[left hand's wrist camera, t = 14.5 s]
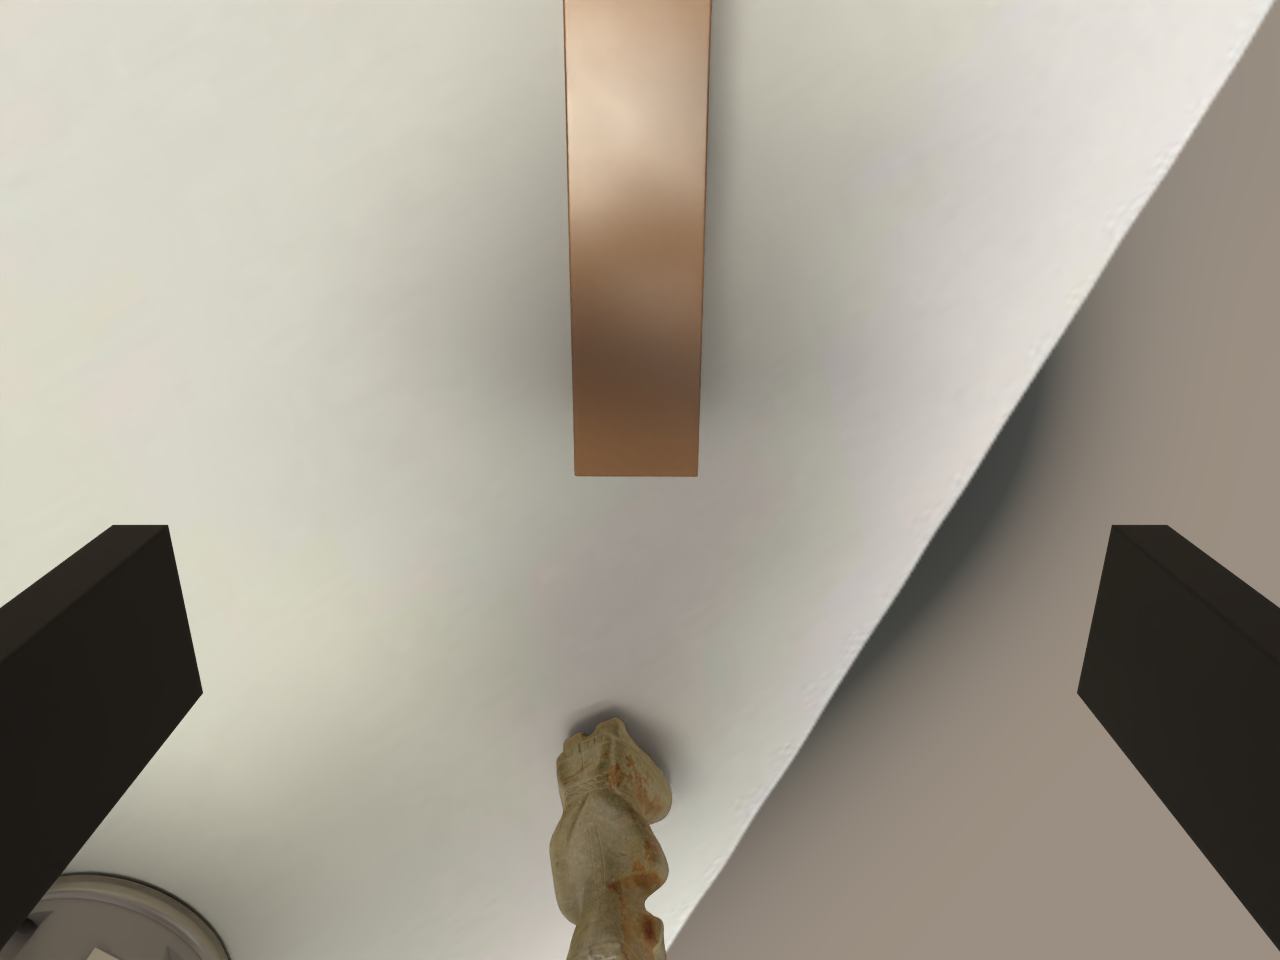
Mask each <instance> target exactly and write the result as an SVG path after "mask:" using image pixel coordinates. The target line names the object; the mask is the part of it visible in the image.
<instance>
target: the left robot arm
mask: <svg viewBox="0 0 1280 960" xmlns="http://www.w3.org/2000/svg"><path fill="white" fill-rule="evenodd" d="M1077 693H1078V695H1079V696H1080V697H1081V699H1082V700H1083V701H1084V702H1085V704H1086V705H1087V706H1088V708H1089V709H1090V710H1091V711H1092V713H1093V714H1094V715H1095V717H1096V718H1097V719H1098V720H1099V722H1100V723H1101V724H1102V725H1103V727H1104V728H1105V729H1106V730H1107V732H1108V733H1109V734H1110V736H1111V737H1112V738H1113V739H1114V741H1115V742H1116V743H1117V744H1118V746H1119V747H1120V748H1121V750H1122V751H1123V752H1124V753H1125V755H1126V756H1127V757H1128V759H1129V760H1130V761H1131V762H1132V764H1133V765H1134V766H1135V767H1136V769H1137V770H1138V771H1139V773H1140V774H1141V775H1142V776H1143V778H1144V779H1145V780H1146V781H1147V783H1148V784H1149V785H1150V787H1151V788H1152V789H1153V790H1154V792H1155V793H1156V794H1157V795H1158V797H1159V798H1160V799H1161V801H1162V802H1163V803H1164V804H1165V806H1166V807H1167V808H1168V810H1169V811H1170V812H1171V813H1172V815H1173V816H1174V817H1175V818H1176V820H1177V821H1178V822H1179V824H1180V825H1181V826H1182V827H1183V829H1184V830H1185V831H1186V832H1187V834H1188V835H1189V836H1190V838H1191V839H1192V840H1193V841H1194V843H1195V844H1196V845H1197V846H1198V848H1199V849H1200V850H1201V852H1202V853H1203V854H1204V855H1205V857H1206V858H1207V859H1208V860H1209V862H1210V863H1211V864H1212V866H1213V867H1214V868H1215V869H1216V871H1217V872H1218V873H1219V874H1220V876H1221V877H1222V878H1223V880H1224V881H1225V882H1226V883H1227V885H1228V886H1229V887H1230V889H1231V890H1232V891H1233V892H1234V894H1235V895H1236V896H1237V897H1238V899H1239V900H1240V901H1241V903H1242V904H1243V905H1244V906H1245V908H1246V909H1247V910H1248V911H1249V913H1250V914H1251V915H1252V917H1253V918H1254V919H1255V920H1256V922H1257V923H1258V924H1259V925H1260V927H1261V928H1262V929H1263V931H1264V932H1265V933H1266V934H1267V936H1268V937H1269V938H1270V939H1271V941H1272V942H1273V943H1274V945H1275V946H1276V947H1277V948H1278V950H1279V951H1280V608H1279V607H1277V606H1276V605H1275V604H1273V603H1272V602H1271V601H1269V600H1268V599H1267V598H1265V597H1264V596H1263V595H1261V594H1260V593H1258V592H1257V591H1256V590H1255V589H1253V588H1252V587H1250V586H1249V585H1248V584H1246V583H1245V582H1244V581H1242V580H1241V579H1240V578H1238V577H1237V576H1235V575H1234V574H1233V573H1231V572H1230V571H1229V570H1227V569H1226V568H1225V567H1223V566H1222V565H1221V564H1219V563H1218V562H1216V561H1215V560H1214V559H1212V558H1211V557H1210V556H1208V555H1207V554H1206V553H1204V552H1203V551H1202V550H1200V549H1199V548H1197V547H1196V546H1195V545H1194V544H1192V543H1191V542H1189V541H1188V540H1187V539H1185V538H1184V537H1183V536H1181V535H1180V534H1179V533H1177V532H1176V531H1175V530H1173V529H1172V528H1170V527H1169V526H1168V525H1112V528H1111V532H1110V537H1109V542H1108V547H1107V552H1106V556H1105V561H1104V566H1103V571H1102V576H1101V580H1100V585H1099V590H1098V595H1097V600H1096V604H1095V609H1094V614H1093V619H1092V624H1091V628H1090V633H1089V638H1088V643H1087V648H1086V652H1085V657H1084V662H1083V667H1082V672H1081V676H1080V681H1079V686H1078V691H1077ZM202 694H203V691H202V686H201V681H200V676H199V672H198V667H197V662H196V657H195V652H194V648H193V643H192V638H191V633H190V628H189V624H188V619H187V614H186V609H185V604H184V600H183V595H182V590H181V585H180V580H179V576H178V571H177V566H176V561H175V556H174V552H173V547H172V542H171V537H170V532H169V528H168V525H112V526H111V527H110V528H108V529H107V530H105V531H104V532H103V533H101V534H100V535H99V536H97V537H96V538H95V539H93V540H92V541H91V542H89V543H88V544H86V545H85V546H84V547H82V548H81V549H80V550H78V551H77V552H76V553H74V554H73V555H72V556H70V557H69V558H67V559H66V560H65V561H63V562H62V563H61V564H59V565H58V566H57V567H55V568H54V569H53V570H51V571H50V572H49V573H47V574H46V575H44V576H43V577H42V578H40V579H39V580H38V581H36V582H35V583H34V584H32V585H31V586H30V587H28V588H27V589H25V590H24V591H23V592H21V593H20V594H19V595H17V596H16V597H15V598H13V599H12V600H11V601H9V602H8V603H7V604H5V605H4V606H2V607H1V608H0V960H228V958H227V955H226V953H225V951H224V949H223V947H222V945H221V943H220V941H219V940H218V938H217V937H216V935H215V934H214V933H213V932H212V930H211V929H210V928H209V927H208V926H207V925H206V924H205V923H204V922H203V921H202V920H201V919H200V918H199V917H198V916H197V915H196V914H195V913H193V912H192V911H191V910H190V909H188V908H187V907H185V906H184V905H183V904H181V903H179V902H178V901H176V900H175V899H173V898H171V897H169V896H167V895H166V894H164V893H162V892H160V891H157V890H155V889H153V888H150V887H148V886H145V885H142V884H139V883H136V882H132V881H129V880H125V879H120V878H115V877H109V876H101V875H69V876H61V877H59V876H60V874H61V873H62V872H63V871H64V869H65V868H66V867H67V866H68V864H69V863H70V862H71V860H72V859H73V858H74V857H75V855H76V854H77V853H78V852H79V850H80V849H81V848H82V846H83V845H84V844H85V843H86V841H87V840H88V839H89V838H90V836H91V835H92V834H93V832H94V831H95V830H96V829H97V827H98V826H99V825H100V824H101V822H102V821H103V820H104V818H105V817H106V816H107V815H108V813H109V812H110V811H111V810H112V808H113V807H114V806H115V804H116V803H117V802H118V801H119V799H120V798H121V797H122V795H123V794H124V793H125V792H126V790H127V789H128V788H129V787H130V785H131V784H132V783H133V781H134V780H135V779H136V778H137V776H138V775H139V774H140V773H141V771H142V770H143V769H144V767H145V766H146V765H147V764H148V762H149V761H150V760H151V759H152V757H153V756H154V755H155V753H156V752H157V751H158V750H159V748H160V747H161V746H162V745H163V743H164V742H165V741H166V739H167V738H168V737H169V736H170V734H171V733H172V732H173V731H174V729H175V728H176V727H177V725H178V724H179V723H180V722H181V720H182V719H183V718H184V717H185V715H186V714H187V713H188V711H189V710H190V709H191V708H192V706H193V705H194V704H195V702H196V701H197V700H198V699H199V697H200V696H201V695H202Z"/></svg>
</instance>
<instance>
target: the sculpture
mask: <svg viewBox="0 0 1280 960" xmlns="http://www.w3.org/2000/svg"><path fill="white" fill-rule="evenodd" d="M557 778H558V787H559V793H560V798H561V802H562V806H563V814H562V817H561V819H560V821H559V823H558V825H557V827H556V829H555V831H554V833H553V835H552V838H551V841H550V859H551V867H552V874H553V881H554V888H555V894H556V899H557V903H558V906H559V909H560V911H561V912H562V914H563V915H564V916H565V917H566V919H568V920H569V921H570V922H571V923H573V924H575V925H576V928H575V931H574V934H573V937H572V940H571V944H570V949H569V952H568V956H567V960H667V958H666V951H665V945H664V926H663V922H662V920H661V919H659V918H658V917H655V916H653V915H652V914H651V913H649V912H648V911H646V909H645V905H644V903H645V901H646V899H647V898H648V897H649V896H650V895H651V894H652V893H654V892H655V891H656V890H657V889H659V888H660V887H661V886H662V885H663V884H664V883H665V881H666V880H667V877H668V872H669V869H668V863H667V860H666V857H665V855H664V852H663V850H662V848H661V846H660V844H659V842H658V840H657V839H656V837H655V835H654V834H653V832H652V830H651V828H650V826H649V825H650V824H653V823H656V822H658V821H661V820H662V819H664V818H665V817H666V816H667V814H668V813H669V811H670V808H671V804H672V793H671V789H670V786H669V783H668V781H667V779H666V777H665V776H664V774H663V772H662V771H661V770H660V769H659V767H658V766H657V765H656V764H655V763H654V762H653V761H652V759H651V758H650V757H649V756H648V755H647V754H646V753H645V752H644V751H643V750H642V749H640V748H639V747H638V746H637V745H636V744H635V743H634V741H633V740H632V739H631V737H630V736H629V734H628V732H627V731H626V726H625V724H624V723H623V722H622V721H621V720H620V719H619V718H616V717H614V718H611V719H608V720H606V721H603V722H601V723H599V724H598V725H597V726H596V728H595V730H594V731H593V733H592V734H591V735H589V736H588V735H587V734H585V733H583V732H579V733H577V734H575V735H573V736H571V737H570V738H568V739H567V740H565V742H564V750H563V753H561V754H560V755H559V757H558V758H557Z"/></svg>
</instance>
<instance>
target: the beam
mask: <svg viewBox="0 0 1280 960" xmlns="http://www.w3.org/2000/svg"><path fill="white" fill-rule="evenodd" d="M711 6H712V0H563V17H564V58H565V99H566V141H567V182H568V223H569V265H570V306H571V347H572V388H573V430H574V471H575V476H677V477H696V476H698V452H699V418H700V383H701V349H702V315H703V280H704V246H705V212H706V177H707V143H708V109H709V74H710V40H711Z"/></svg>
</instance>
